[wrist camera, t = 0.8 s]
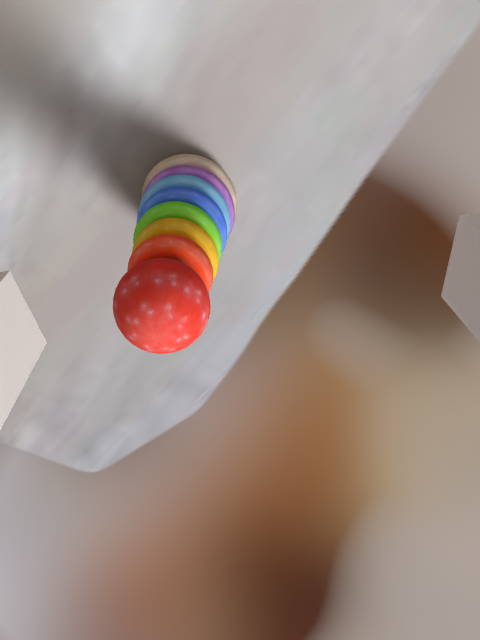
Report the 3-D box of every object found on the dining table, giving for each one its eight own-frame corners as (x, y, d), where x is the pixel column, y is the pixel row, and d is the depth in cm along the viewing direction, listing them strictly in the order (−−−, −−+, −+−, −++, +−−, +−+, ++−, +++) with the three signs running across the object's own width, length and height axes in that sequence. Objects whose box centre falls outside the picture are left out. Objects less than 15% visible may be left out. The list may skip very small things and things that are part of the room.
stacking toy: (194, 129, 31) (168, 223, 16) (254, 207, 35) (280, 342, 20) (123, 192, 34) (44, 323, 19) (187, 258, 38) (164, 412, 23)
